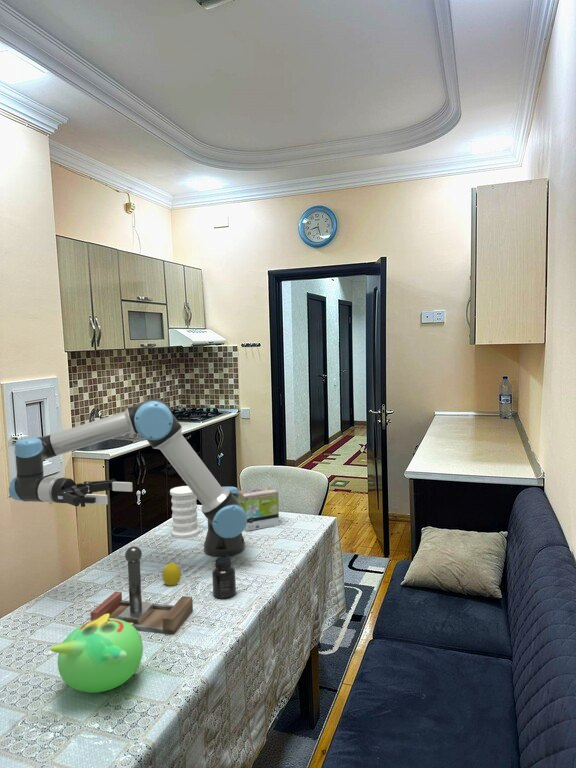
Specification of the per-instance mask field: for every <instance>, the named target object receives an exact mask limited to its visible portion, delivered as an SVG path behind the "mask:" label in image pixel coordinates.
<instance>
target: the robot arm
mask: <svg viewBox="0 0 576 768" xmlns="http://www.w3.org/2000/svg"><path fill="white" fill-rule="evenodd" d="M182 431H183V426H182V425H181V423H180V422H179V421H178V419H177V418H176V417H175V415H174V414H173V412H171V409H170V406H168V403H166V402H165V401H163V400H161V399H157V398H149V399H147V400H144V401H142V402H139V403H138V404H135V405H132V406H129V407H126V409H125V411H122V412H119V413H116V414H113V415H110V416H106V417H103V418H100V419H97V420H94V421H90V422H87V423H84V424H80V425H77V426H74V427H71V428H68V429H67V428H66V429H64V430H61V431H58V432H54V433H50V434H48V435H45V436H38V437H31V438H30V437H28V438H22V439H19V440H17V441H15V443H14V446H15V447H14V454H15V464H16V465H15V467H16V469H15V470H16V477H13V479H11V481H10V482H9V487H8V494H9V496H10V497H11V498H12V499H13V500H15V501H20V502H32V503H33V502H39V503H40V502H41V503H49V504H50V505H51V504H53V503H57V504H68V505H70V506H73V507H79V506H80V507H81V508H85V507H86V505H98V506H99V505H101V506H102V505H103V506H104V505H105V506H107V505H108V504H109V503H108V502H109V501H108V494H98V492H99V493H100V492H107V491H114V492H130V493H131V492H133V482H130V481H117V479H115V478H111V479H108V480H107V479H106V480H94V481H90V480H89V481H83V483H82V482H78V483H76V482H75V481H74V479H72V478H70V477H69V478H66V477H45V476H44V461H46V460H48V459H52V458H54V457H57V456H60V455H64V454H67V453H69V452H73V451H76V450H79V449H82V448H86V447H89V446H92V445H95V444H98V443H101V442H105V441H109V440H111V439H114V438H119V437H120V436H121V437H122V436H124V435H127V434H131V433H132V434H134V435H137V434H139V435H140V436H142V438H144V439H145V440H146V441H147V443H148V444H149V445H150V446H151V447H152V449H155V450H156V449H157V450H160V452H161V453H162V454H163V455H164V457H165V458H166V459H167V461H168V462H169V463H170V465H171V466H172V468H174V469H175V471H176V472H177V474H178V475H179V477H181V479H182V481H184V483H185V484H186V486H188V487H189V488H190V489H191V491H192V492H193V493H194V494H195V496H196V497H197V500H198V501H199V502H200V503H201V512H202V514H203V515H204V517H205V518H206V519H207V532H206V535H205V541H204V543H203V551H204V553H205V554H206V555H208V556H213V557H219V558H220V557H231V556H235V555H237V554H240V553H241V552H243V551H244V550H245V548H246V544H245V543H246V542H245V538H244V536H243V532H244V531H245V530H244V529H245V527H246V524H247V515H246V512H245V510H244V509H243V507H242V506H241V504H240V502H239V493H238V491H239V489H238V487H235V486H221V485H220V483H219V482H218V480H217V479H216V478H215V476H214V474H212V472H211V471H210V470H209V469H208V467H207V466H206V464H205V463H204V462H203V460H202V459H201V457H200V456H199V455H198V453H197V452H196V451H195V450H194V449H193V447H192V446H191V444H190V443H189V442H188V441H187V439H186V438H185V437H184V435H183V433H182ZM95 493H97V494H95Z"/></svg>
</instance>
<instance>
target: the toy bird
mask: <svg viewBox="0 0 576 768" xmlns="http://www.w3.org/2000/svg"><path fill="white" fill-rule="evenodd" d="M109 616H110V614H109V613H107V614H104V615H103V616H101V617H100V618H98V619H96V620H92V621H91V620H89V621H87V622H85V623H83V624H80V625H79V626H78V627H76V628H74V629H73V630H72V631H71V632H70V633H69V634H68V635H67V637H65V639H64V641H63V642H62V643H58V644H55V645H53V646H51V647H50V651H51V652H53V653H58V654H57V670H58V673H59V675H60V678H61V679H62V680H63V681H64V682H65V684H66V685H68V686H69V687H70V688H72V689H75V690H77V691H80V692H85V693H91V694H92V693H95V694H96V693H103V692H107V691H110V690H113V689H115V688H117V687H119V686H122V685H123V684H124V683H125V682H127V681H128V680H130V678H131V677H133V675H134V674H135V673H136V671H137V670H138V668H139V667H140V666H139V665H140V664H141V661H142V658H143V651H144V647H143V646H144V645H143V639H142V636H141V634H140V632H139V631H137V630H136V629H135V628H134V627H133V626H132V625H131V624H129V623H127V622H125V621H123V620H119V619H114V618H109Z"/></svg>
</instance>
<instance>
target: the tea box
mask: <svg viewBox="0 0 576 768" xmlns="http://www.w3.org/2000/svg"><path fill="white" fill-rule="evenodd" d="M238 493H239V502H240V504H241V506H242V507H243V509H244V510H245V512H246V515H247V524H246V527H245V529H244V530H243V531H245V532H251V531H254V530H259V529H265V528H272V527H278V526H279V521H280V520H279V519H280V518H279V515H280V512H279V491H277V490H275V489H273V488H272V487H270V486H264V487H263V486H262V487H258V488H250V489H245V490H238ZM277 525H278V526H277Z"/></svg>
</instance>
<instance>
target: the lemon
mask: <svg viewBox="0 0 576 768" xmlns="http://www.w3.org/2000/svg"><path fill="white" fill-rule="evenodd" d="M181 575H182V573H181V569H180V567H179V565H178V564H177V563H174V562H169V563H168V564H166V565H165V566H164V568H163V571H162V580H163V584H165V585H166V586H167V587H168V586H169V587H171V586H172V587H173V586H176V585H178V584H179V583H180V580H181V578H182V577H181Z"/></svg>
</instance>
